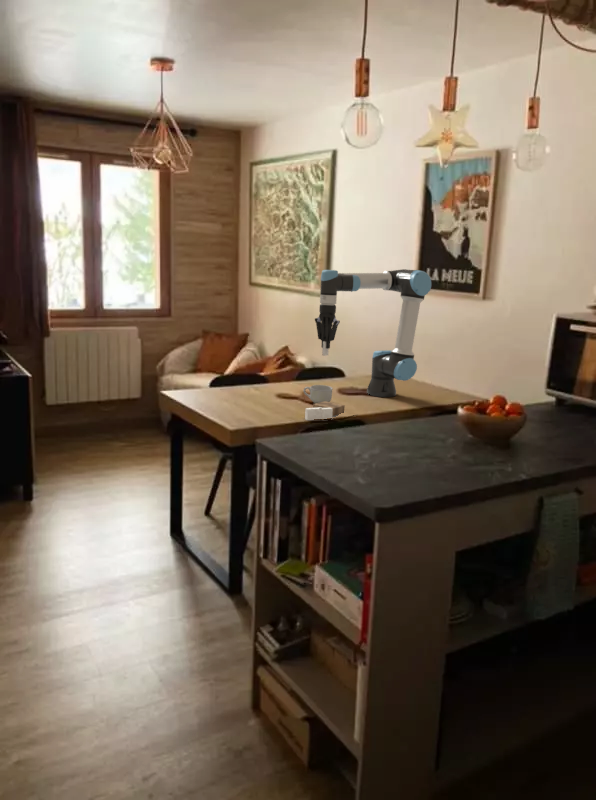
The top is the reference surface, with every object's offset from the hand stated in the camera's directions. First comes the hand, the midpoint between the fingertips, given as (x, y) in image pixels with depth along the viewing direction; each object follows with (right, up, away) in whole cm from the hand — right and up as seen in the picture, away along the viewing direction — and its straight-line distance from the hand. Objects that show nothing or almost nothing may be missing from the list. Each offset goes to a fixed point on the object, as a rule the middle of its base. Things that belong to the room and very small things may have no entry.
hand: (325, 355), depth 315 cm
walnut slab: (-3, -24, -5) cm, 24 cm away
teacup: (-3, -22, +12) cm, 26 cm away
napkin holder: (-3, -30, -20) cm, 36 cm away
